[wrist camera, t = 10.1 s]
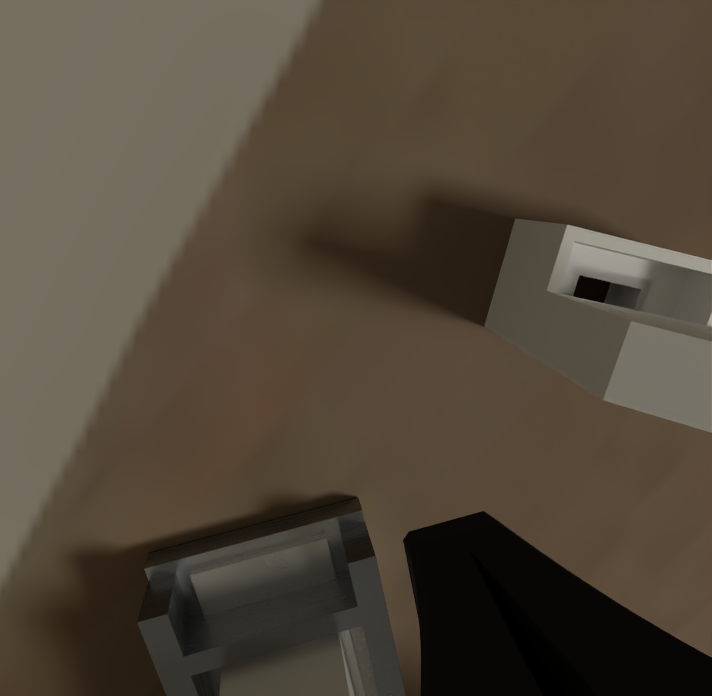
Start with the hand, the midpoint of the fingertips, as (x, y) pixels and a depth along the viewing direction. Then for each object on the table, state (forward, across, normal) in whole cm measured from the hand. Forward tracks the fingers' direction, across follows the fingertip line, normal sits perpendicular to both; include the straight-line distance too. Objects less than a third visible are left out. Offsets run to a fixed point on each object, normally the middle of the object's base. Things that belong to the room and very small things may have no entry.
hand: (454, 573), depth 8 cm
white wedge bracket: (+10, -8, -1) cm, 13 cm away
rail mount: (+10, +4, +12) cm, 16 cm away
